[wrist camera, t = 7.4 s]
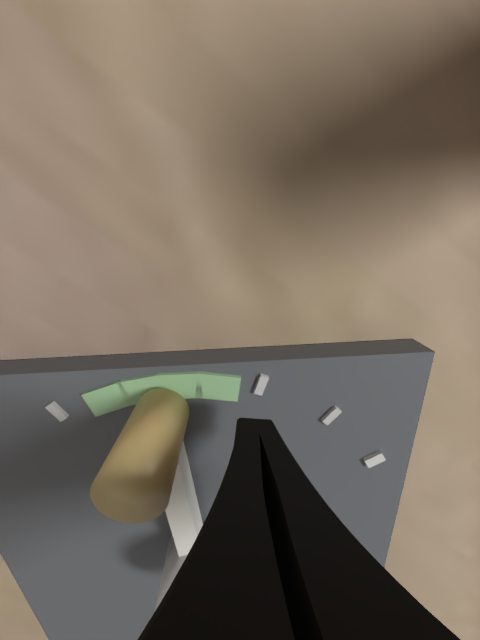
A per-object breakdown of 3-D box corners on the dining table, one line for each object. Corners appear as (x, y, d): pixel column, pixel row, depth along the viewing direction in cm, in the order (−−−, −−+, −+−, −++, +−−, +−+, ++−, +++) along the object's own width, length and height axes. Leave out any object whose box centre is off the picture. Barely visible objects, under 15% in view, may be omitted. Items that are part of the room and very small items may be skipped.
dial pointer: (232, 560, 16) (232, 672, 12) (174, 566, 16) (155, 680, 12) (198, 381, 11) (180, 461, 7) (119, 390, 11) (59, 474, 7)
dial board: (359, 603, 21) (370, 634, 19) (68, 624, 20) (54, 657, 19) (412, 338, 13) (438, 353, 11) (-59, 363, 13) (-102, 382, 11)
